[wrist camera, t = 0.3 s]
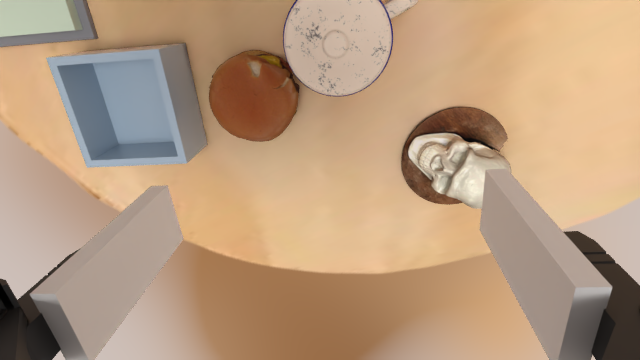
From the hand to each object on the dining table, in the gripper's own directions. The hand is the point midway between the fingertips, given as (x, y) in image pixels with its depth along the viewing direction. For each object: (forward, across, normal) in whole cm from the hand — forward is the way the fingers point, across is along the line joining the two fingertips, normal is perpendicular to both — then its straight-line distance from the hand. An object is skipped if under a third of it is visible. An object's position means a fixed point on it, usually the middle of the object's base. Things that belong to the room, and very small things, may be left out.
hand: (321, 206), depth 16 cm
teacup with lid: (+28, +1, +5) cm, 28 cm away
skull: (+28, +12, -10) cm, 32 cm away
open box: (+28, -23, 0) cm, 36 cm away
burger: (+28, -10, 0) cm, 30 cm away
